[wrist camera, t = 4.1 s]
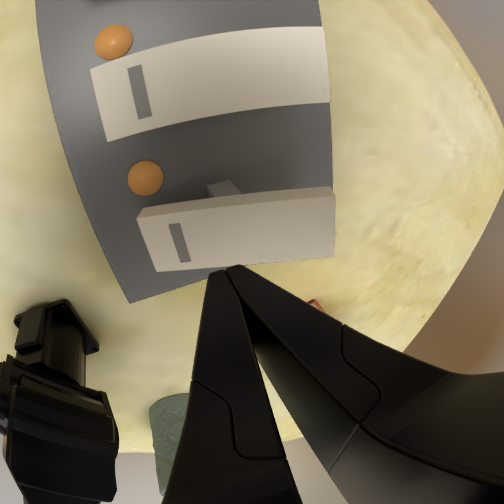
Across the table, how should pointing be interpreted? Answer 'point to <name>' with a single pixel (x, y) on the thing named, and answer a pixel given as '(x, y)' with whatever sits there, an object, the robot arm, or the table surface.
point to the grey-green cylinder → (167, 433)
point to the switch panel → (171, 136)
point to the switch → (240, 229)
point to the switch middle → (211, 78)
